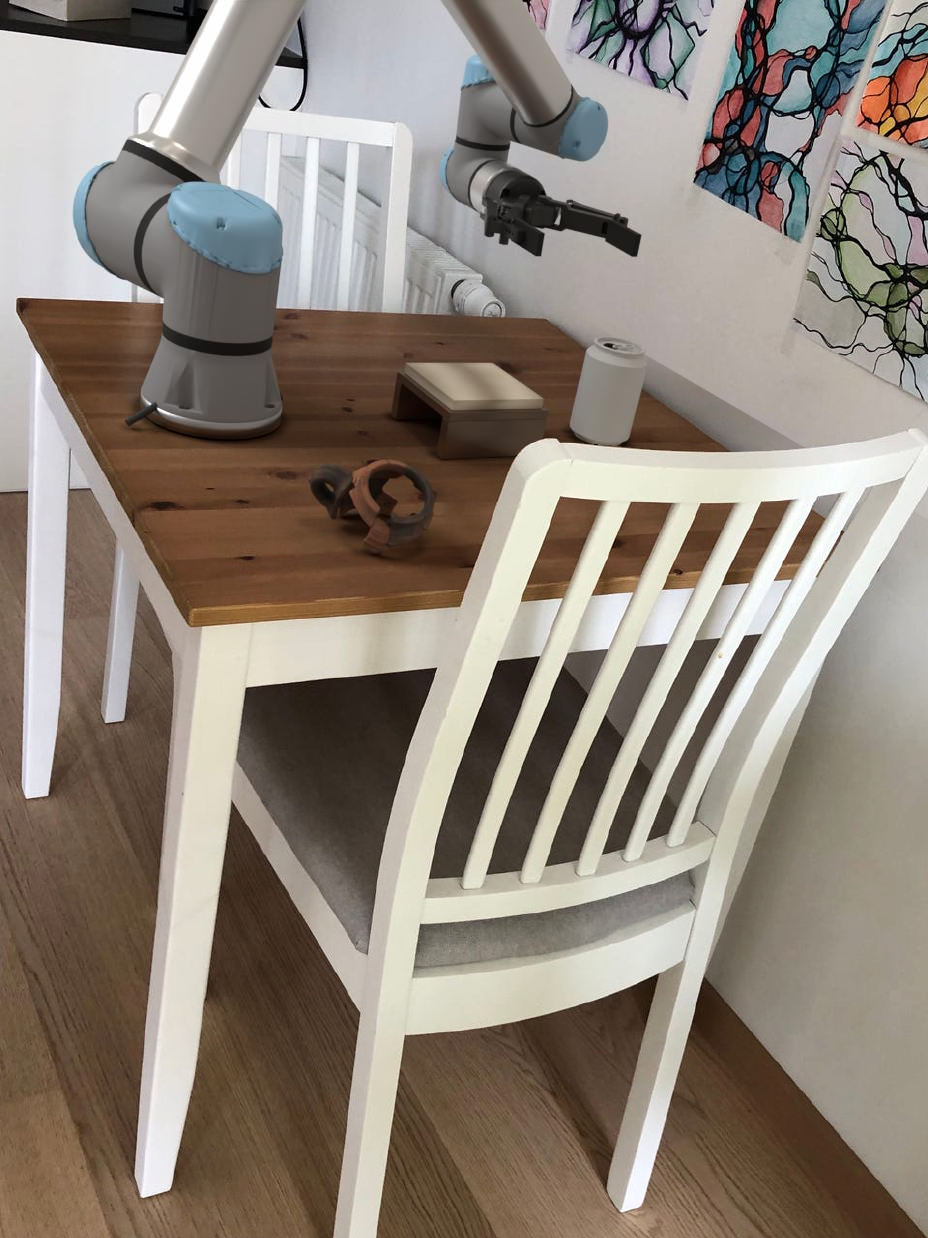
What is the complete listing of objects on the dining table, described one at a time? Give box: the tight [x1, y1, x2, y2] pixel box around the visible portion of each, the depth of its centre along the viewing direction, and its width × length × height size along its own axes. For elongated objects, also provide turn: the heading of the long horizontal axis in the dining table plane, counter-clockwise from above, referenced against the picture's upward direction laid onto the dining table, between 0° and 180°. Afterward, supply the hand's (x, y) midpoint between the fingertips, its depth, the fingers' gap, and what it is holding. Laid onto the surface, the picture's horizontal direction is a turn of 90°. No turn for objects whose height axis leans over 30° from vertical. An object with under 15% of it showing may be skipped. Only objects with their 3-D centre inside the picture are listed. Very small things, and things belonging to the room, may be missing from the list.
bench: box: [390, 362, 550, 460], centre depth 143 cm, size 13×13×7 cm
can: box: [569, 335, 649, 447], centre depth 149 cm, size 8×8×12 cm
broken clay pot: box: [307, 459, 436, 554], centre depth 116 cm, size 12×10×8 cm
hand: (589, 245), depth 148 cm, fingers open, 13 cm apart
